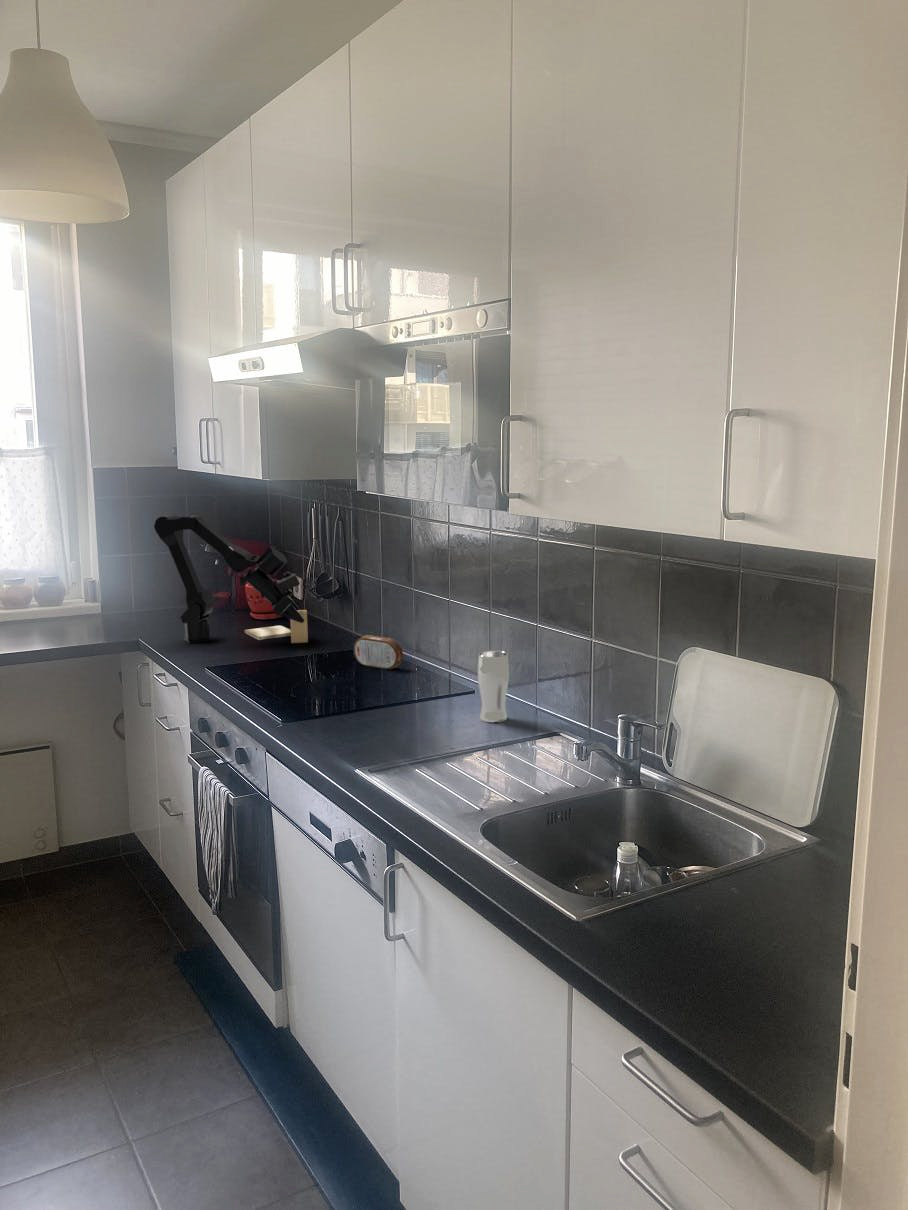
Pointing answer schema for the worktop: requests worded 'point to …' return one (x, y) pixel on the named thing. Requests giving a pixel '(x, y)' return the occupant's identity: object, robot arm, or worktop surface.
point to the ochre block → (299, 629)
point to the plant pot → (259, 604)
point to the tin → (378, 652)
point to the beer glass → (493, 684)
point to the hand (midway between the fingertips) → (303, 619)
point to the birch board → (269, 632)
